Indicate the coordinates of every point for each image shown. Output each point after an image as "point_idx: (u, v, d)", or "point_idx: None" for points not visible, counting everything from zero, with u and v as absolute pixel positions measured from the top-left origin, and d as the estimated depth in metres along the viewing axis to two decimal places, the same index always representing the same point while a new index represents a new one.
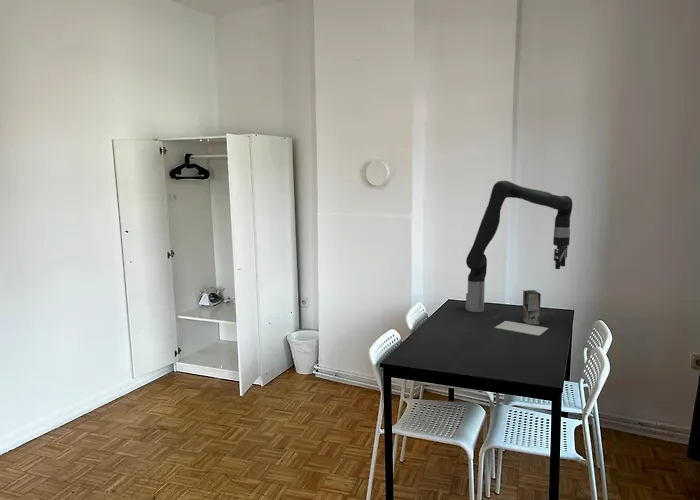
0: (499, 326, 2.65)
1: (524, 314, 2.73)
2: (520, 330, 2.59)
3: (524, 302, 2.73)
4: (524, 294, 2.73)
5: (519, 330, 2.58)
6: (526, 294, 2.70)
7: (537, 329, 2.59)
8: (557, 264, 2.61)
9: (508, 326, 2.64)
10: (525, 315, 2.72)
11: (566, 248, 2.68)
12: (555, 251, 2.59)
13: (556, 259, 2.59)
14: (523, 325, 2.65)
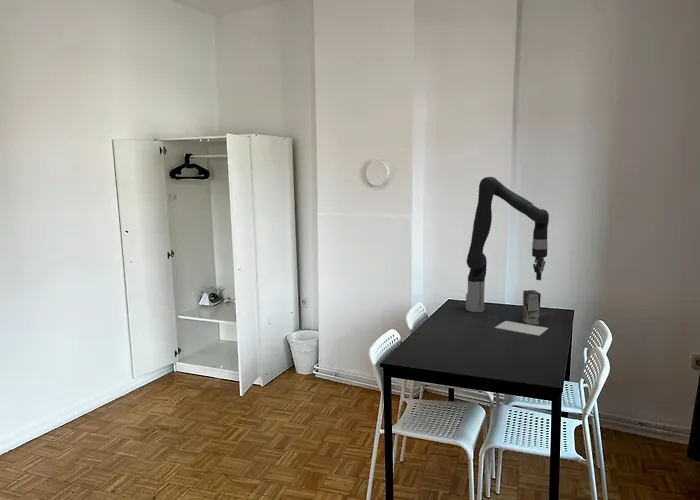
0: (499, 326, 2.65)
1: (524, 314, 2.73)
2: (520, 330, 2.59)
3: (524, 302, 2.73)
4: (524, 294, 2.73)
5: (519, 330, 2.58)
6: (526, 294, 2.70)
7: (537, 329, 2.59)
8: (538, 275, 2.76)
9: (508, 326, 2.64)
10: (525, 315, 2.72)
11: (544, 262, 2.79)
12: (534, 266, 2.73)
13: (537, 271, 2.74)
14: (523, 325, 2.65)
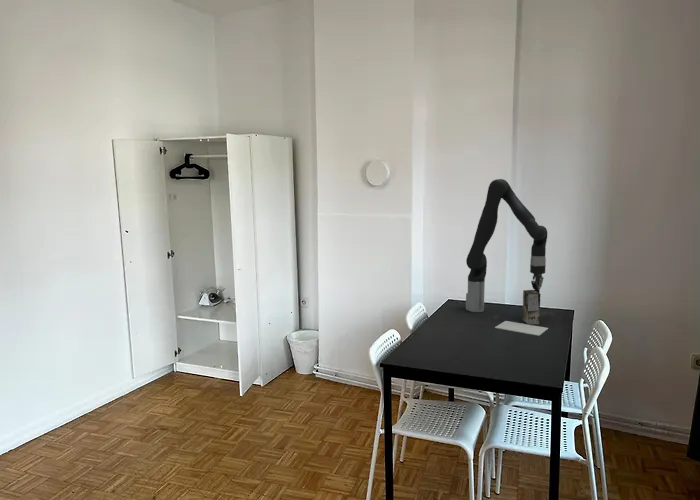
0: (499, 326, 2.65)
1: (524, 314, 2.73)
2: (520, 330, 2.59)
3: (524, 302, 2.73)
4: (524, 294, 2.72)
5: (519, 330, 2.58)
6: (526, 294, 2.69)
7: (537, 329, 2.59)
8: None
9: (508, 326, 2.64)
10: (525, 315, 2.72)
11: (542, 278, 2.79)
12: (532, 283, 2.72)
13: (535, 287, 2.74)
14: (523, 325, 2.65)
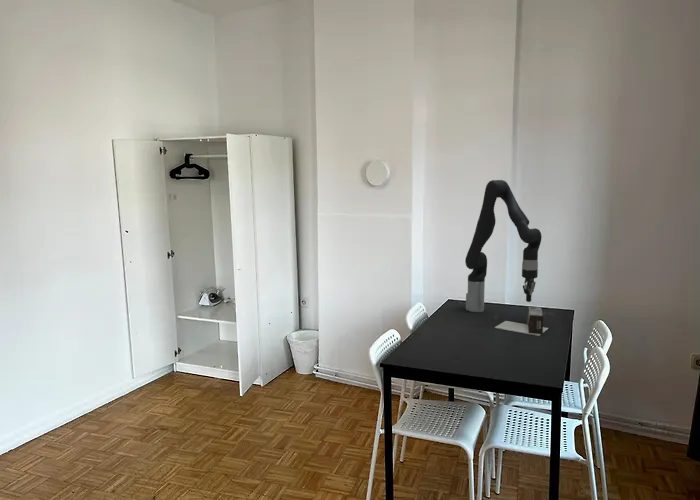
0: (499, 326, 2.65)
1: None
2: (520, 330, 2.59)
3: (528, 318, 2.58)
4: (529, 319, 2.54)
5: (519, 330, 2.58)
6: (529, 326, 2.54)
7: None
8: (528, 297, 2.66)
9: (508, 326, 2.64)
10: None
11: (534, 283, 2.69)
12: (524, 288, 2.62)
13: (527, 292, 2.64)
14: (523, 325, 2.65)
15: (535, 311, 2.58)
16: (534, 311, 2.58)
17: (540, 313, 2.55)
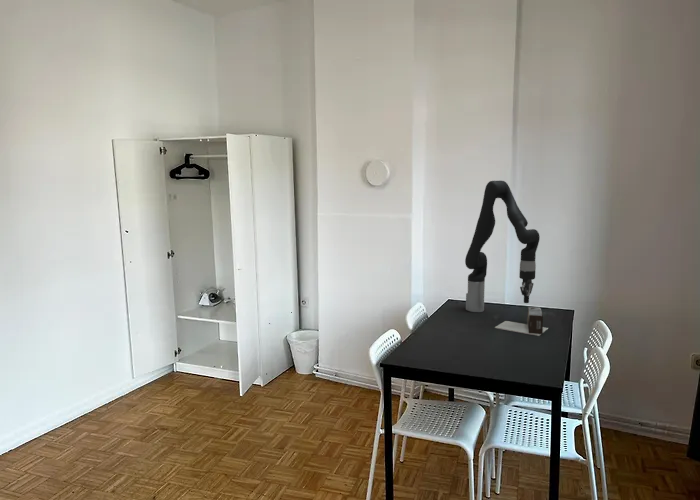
0: (499, 326, 2.65)
1: None
2: (520, 330, 2.59)
3: (528, 318, 2.58)
4: (528, 319, 2.54)
5: (519, 330, 2.58)
6: (528, 326, 2.54)
7: None
8: (525, 298, 2.63)
9: (508, 326, 2.64)
10: None
11: (532, 284, 2.67)
12: (521, 289, 2.60)
13: (524, 293, 2.62)
14: (523, 325, 2.65)
15: (535, 311, 2.58)
16: (534, 311, 2.58)
17: (540, 313, 2.55)
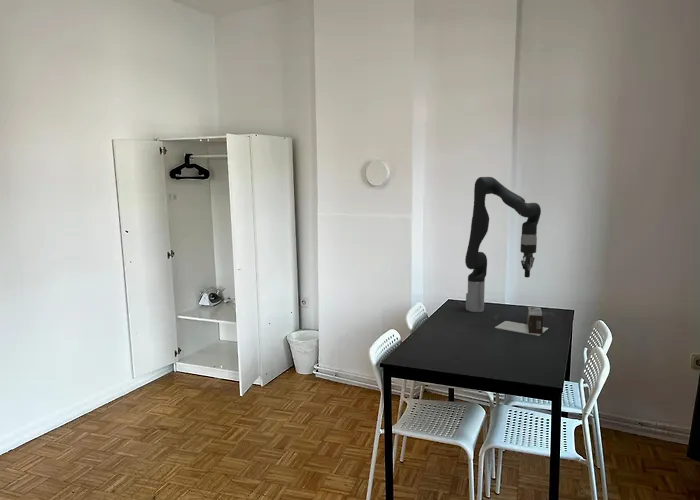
0: (499, 326, 2.65)
1: None
2: (520, 330, 2.59)
3: (528, 318, 2.58)
4: (528, 319, 2.54)
5: (519, 330, 2.58)
6: (528, 326, 2.54)
7: None
8: (526, 272, 2.62)
9: (508, 326, 2.64)
10: None
11: (533, 259, 2.65)
12: (522, 263, 2.59)
13: (525, 267, 2.60)
14: (523, 325, 2.65)
15: (535, 311, 2.58)
16: (534, 311, 2.58)
17: (540, 313, 2.55)
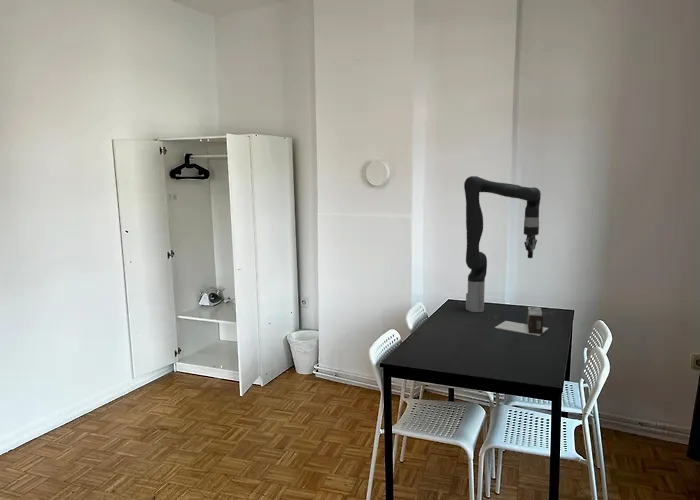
0: (499, 326, 2.65)
1: None
2: (520, 330, 2.59)
3: (528, 318, 2.58)
4: (528, 319, 2.54)
5: (519, 330, 2.58)
6: (528, 326, 2.54)
7: None
8: (529, 253, 2.77)
9: (508, 326, 2.64)
10: None
11: (535, 241, 2.81)
12: (525, 244, 2.74)
13: (528, 249, 2.76)
14: (523, 325, 2.65)
15: (535, 311, 2.58)
16: (534, 311, 2.58)
17: (540, 313, 2.55)
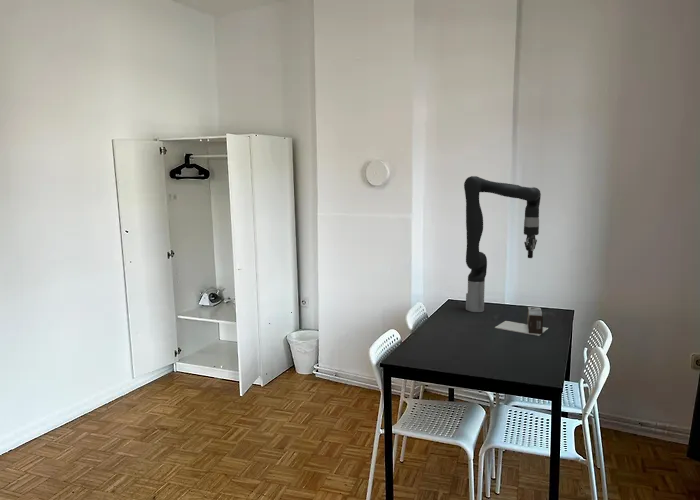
0: (499, 326, 2.65)
1: None
2: (520, 330, 2.59)
3: (528, 318, 2.58)
4: (528, 319, 2.54)
5: (519, 330, 2.58)
6: (528, 326, 2.54)
7: None
8: (529, 253, 2.77)
9: (508, 326, 2.64)
10: None
11: (535, 241, 2.81)
12: (525, 244, 2.74)
13: (528, 249, 2.76)
14: (523, 325, 2.65)
15: (535, 311, 2.58)
16: (534, 311, 2.58)
17: (540, 313, 2.55)
